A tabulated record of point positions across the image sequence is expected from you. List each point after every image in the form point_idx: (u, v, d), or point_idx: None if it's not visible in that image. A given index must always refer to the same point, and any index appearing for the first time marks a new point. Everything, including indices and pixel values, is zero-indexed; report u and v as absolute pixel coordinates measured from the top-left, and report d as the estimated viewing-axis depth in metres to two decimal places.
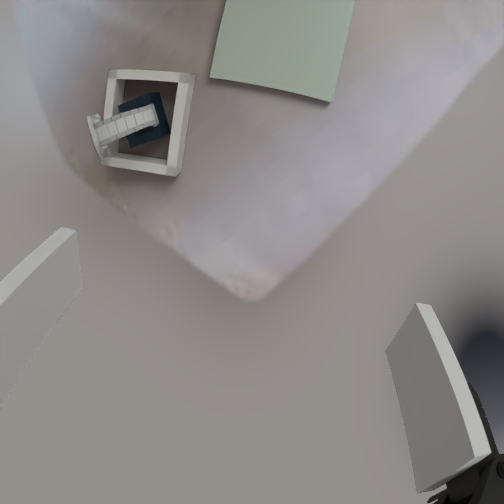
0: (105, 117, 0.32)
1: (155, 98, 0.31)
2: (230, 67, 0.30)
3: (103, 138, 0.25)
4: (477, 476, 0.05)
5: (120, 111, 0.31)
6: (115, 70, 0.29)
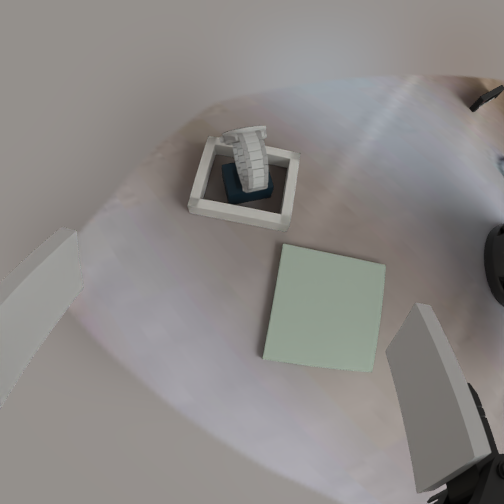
0: None
1: (266, 192, 0.38)
2: (293, 263, 0.37)
3: (245, 137, 0.30)
4: (477, 476, 0.05)
5: (258, 159, 0.38)
6: (298, 158, 0.39)
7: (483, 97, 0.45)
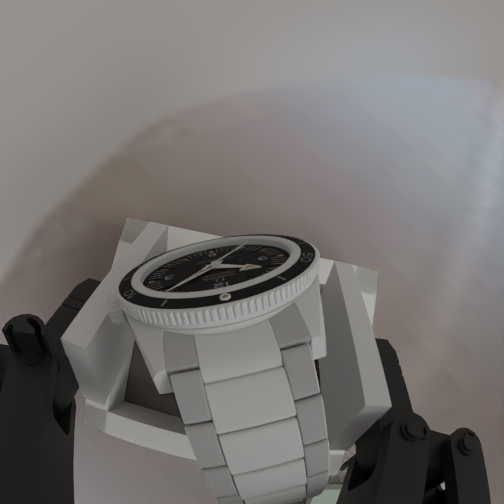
0: None
1: None
2: None
3: (216, 388, 0.05)
4: (379, 441, 0.06)
5: None
6: (374, 288, 0.14)
7: None
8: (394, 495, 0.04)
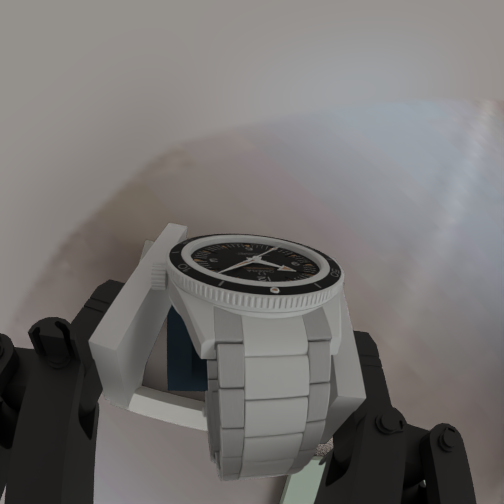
0: None
1: None
2: (309, 484, 0.17)
3: (253, 361, 0.06)
4: (353, 435, 0.06)
5: None
6: None
7: None
8: (370, 491, 0.04)
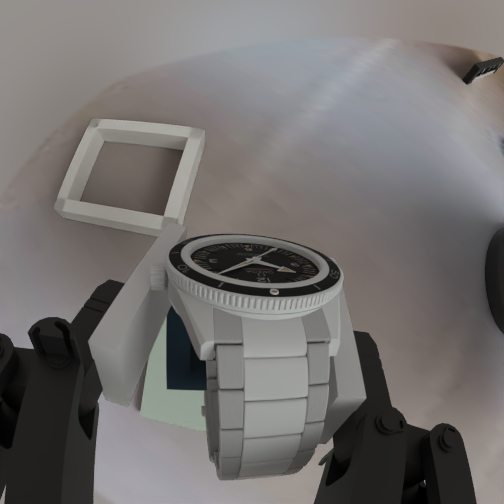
0: (143, 123, 0.27)
1: None
2: None
3: (253, 362, 0.06)
4: (353, 435, 0.06)
5: None
6: (200, 136, 0.27)
7: (479, 65, 0.33)
8: (370, 491, 0.04)
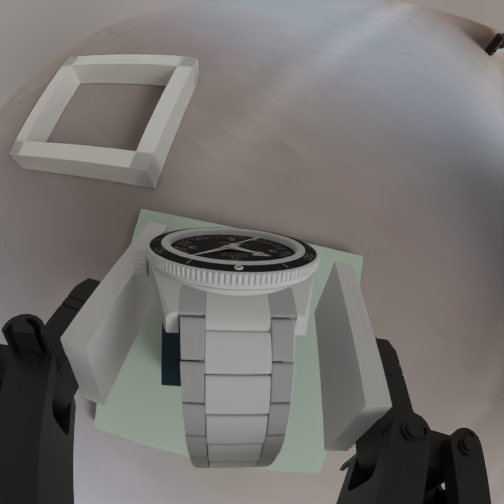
0: (125, 56, 0.19)
1: None
2: None
3: (213, 335, 0.06)
4: (379, 441, 0.06)
5: None
6: (192, 64, 0.19)
7: (501, 35, 0.25)
8: (394, 495, 0.04)
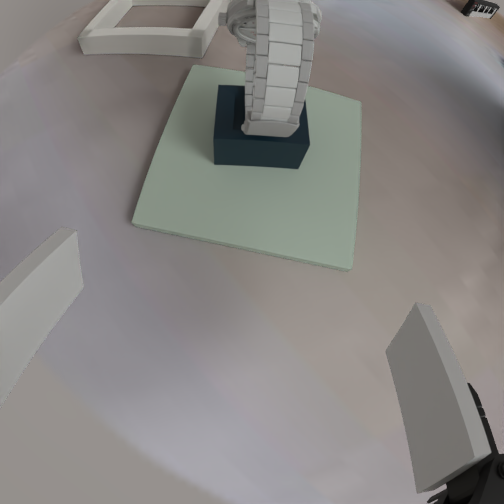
0: None
1: (292, 156, 0.18)
2: (203, 84, 0.21)
3: (271, 1, 0.10)
4: (477, 476, 0.05)
5: None
6: None
7: None
8: None
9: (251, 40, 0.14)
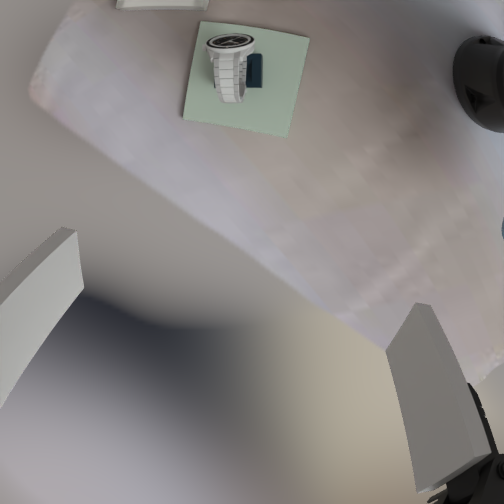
0: None
1: None
2: (209, 36, 0.32)
3: (221, 61, 0.24)
4: (477, 476, 0.05)
5: (254, 54, 0.30)
6: None
7: None
8: None
9: None
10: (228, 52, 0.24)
